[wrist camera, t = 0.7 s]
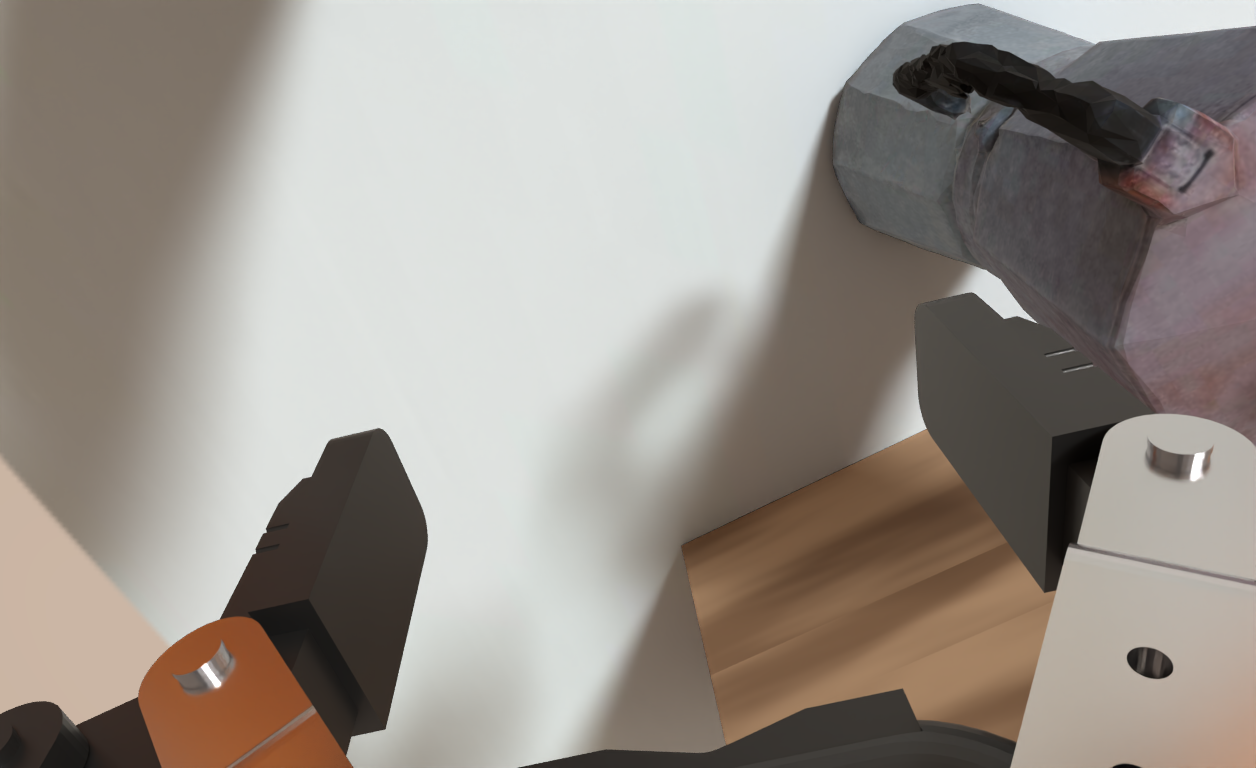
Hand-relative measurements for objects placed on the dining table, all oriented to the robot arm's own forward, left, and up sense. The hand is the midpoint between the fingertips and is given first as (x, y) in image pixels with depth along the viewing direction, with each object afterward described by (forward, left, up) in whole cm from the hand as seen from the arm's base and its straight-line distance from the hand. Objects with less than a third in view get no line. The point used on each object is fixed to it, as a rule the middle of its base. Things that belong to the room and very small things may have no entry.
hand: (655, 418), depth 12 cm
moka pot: (+5, +12, -21) cm, 25 cm away
